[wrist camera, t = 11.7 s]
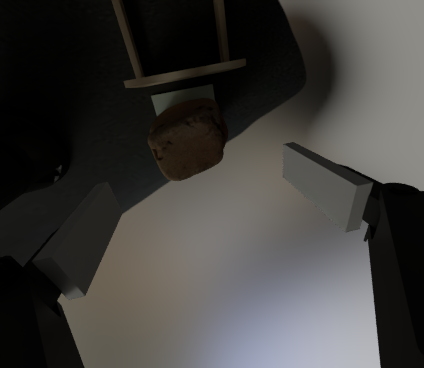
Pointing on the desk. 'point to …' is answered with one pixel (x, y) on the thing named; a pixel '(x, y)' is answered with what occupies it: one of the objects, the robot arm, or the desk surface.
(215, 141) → the brown potato
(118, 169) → the desk surface
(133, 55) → the cradle
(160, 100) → the mat
